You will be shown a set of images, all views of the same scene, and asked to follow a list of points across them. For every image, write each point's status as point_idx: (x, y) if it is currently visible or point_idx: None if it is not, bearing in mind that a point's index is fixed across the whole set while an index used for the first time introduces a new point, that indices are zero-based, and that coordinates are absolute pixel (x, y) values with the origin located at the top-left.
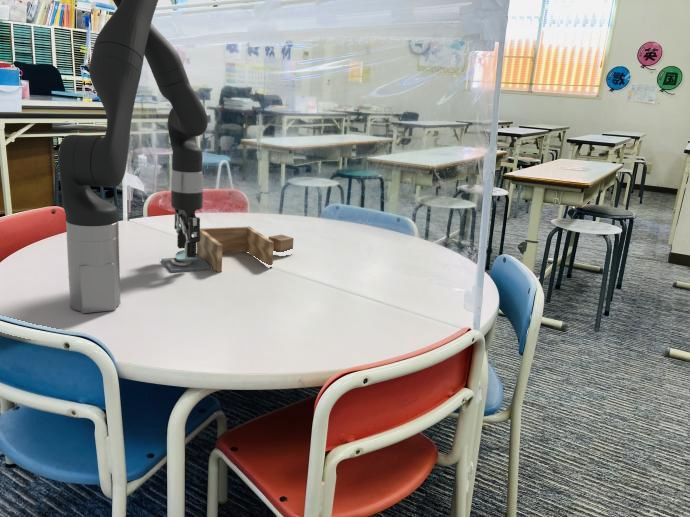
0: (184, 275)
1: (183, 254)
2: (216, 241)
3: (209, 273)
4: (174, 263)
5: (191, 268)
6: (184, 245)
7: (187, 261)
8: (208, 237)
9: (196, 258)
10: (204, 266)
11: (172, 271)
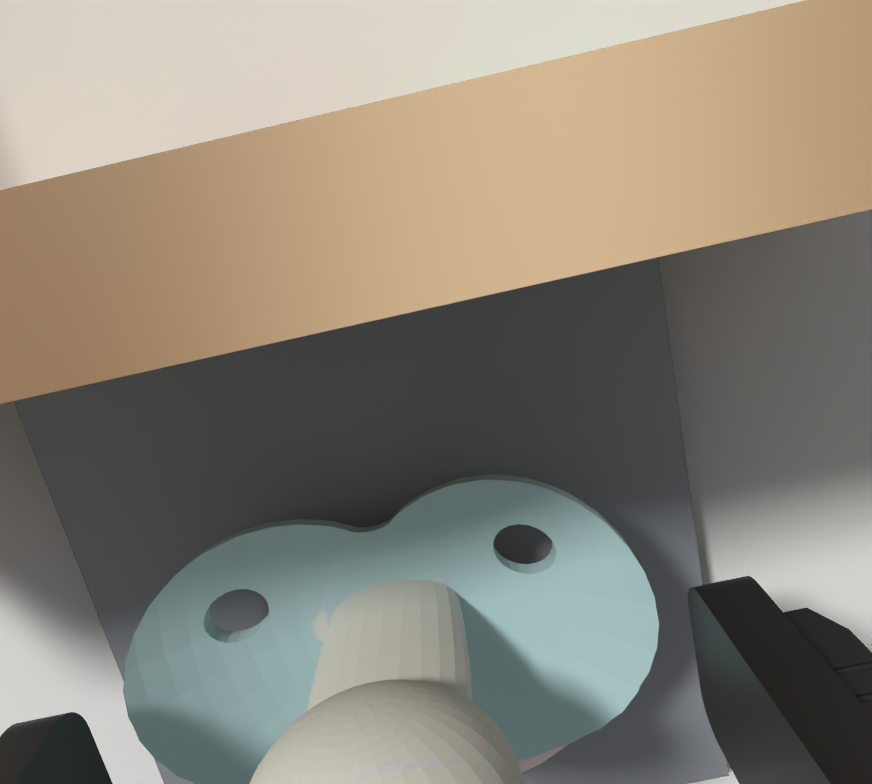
0: (851, 612)
1: (231, 685)
2: (814, 68)
3: (830, 279)
4: (534, 765)
5: (682, 537)
6: (62, 773)
7: (525, 616)
8: (143, 353)
9: (600, 518)
10: (605, 344)
11: (719, 751)
